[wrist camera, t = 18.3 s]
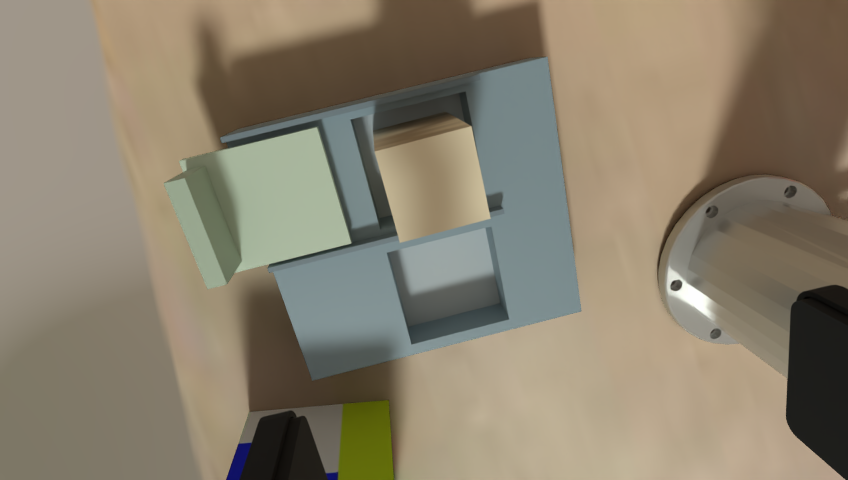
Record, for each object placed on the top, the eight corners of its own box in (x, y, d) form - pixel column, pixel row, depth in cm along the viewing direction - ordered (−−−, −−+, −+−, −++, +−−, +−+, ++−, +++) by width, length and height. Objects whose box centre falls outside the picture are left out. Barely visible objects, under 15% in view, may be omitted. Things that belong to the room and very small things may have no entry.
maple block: (445, 111, 30) (471, 126, 23) (461, 182, 32) (490, 218, 24) (372, 130, 30) (374, 151, 23) (392, 201, 32) (399, 242, 24)
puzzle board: (530, 57, 30) (552, 56, 27) (564, 292, 36) (586, 317, 32) (237, 129, 30) (220, 137, 26) (316, 355, 35) (311, 388, 32)
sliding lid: (318, 125, 27) (310, 134, 24) (351, 240, 29) (349, 263, 26) (182, 159, 27) (154, 172, 23) (227, 271, 29) (207, 299, 26)
